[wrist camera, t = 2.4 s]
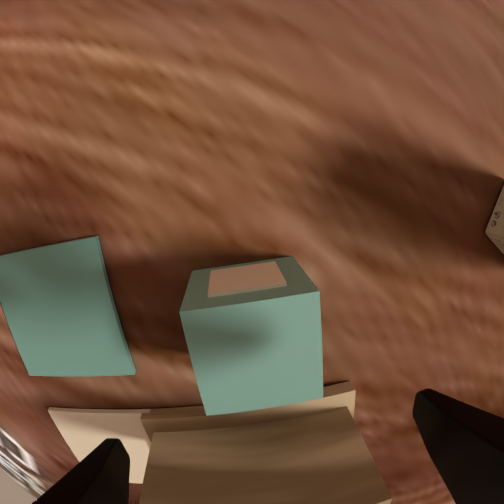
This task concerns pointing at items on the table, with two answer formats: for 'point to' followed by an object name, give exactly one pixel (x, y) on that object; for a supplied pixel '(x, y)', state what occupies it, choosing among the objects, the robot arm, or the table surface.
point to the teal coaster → (63, 310)
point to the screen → (262, 455)
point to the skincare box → (497, 224)
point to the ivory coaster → (105, 433)
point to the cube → (254, 335)
